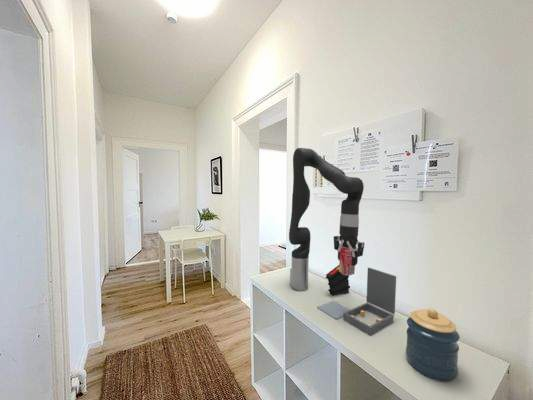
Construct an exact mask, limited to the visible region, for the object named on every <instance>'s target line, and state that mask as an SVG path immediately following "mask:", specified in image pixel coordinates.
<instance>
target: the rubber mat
mask: <svg viewBox="0 0 533 400" xmlns="http://www.w3.org/2000/svg"><path fill="white" fill-rule="evenodd" d="M316 308H317V309H318V310H320V311H321V312H323V313H325V315H328V316H330V317H331V318H333V319H334V320H336V321H337V320H339V319H342V318H343V313H344V312H346V311H349V310H351V309H350V308H348V307H346V306H344V305H342V304H341V303H339V302H336V301H335V300H332V301H329V302H326V303H324V304H321V305H318V306H316Z"/></svg>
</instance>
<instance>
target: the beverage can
mask: <svg viewBox="0 0 533 400" xmlns="http://www.w3.org/2000/svg"><path fill="white" fill-rule="evenodd" d="M353 249H354V248H353ZM354 252H355V251H354ZM352 257H353V256H352V252H351V251H350V249H349V248H346V247H344V246H342V247H341V249H340V261H339V264H338V265H339V272H340V273H342V274H343V275H347V276H349V277H350V276H353V275H355V270H356V265H355V266H353V265H352Z"/></svg>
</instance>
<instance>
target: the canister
mask: <svg viewBox="0 0 533 400" xmlns="http://www.w3.org/2000/svg"><path fill="white" fill-rule="evenodd" d="M406 323H407V326H408V327H407V328H406V346H405V354H406V355H405V356H406V359H407V361H408V363H409V364H410V365H411V366H412V368H414V369H415V370H416V371H418V372H419V373H420V374H422V375H423V376H426V377H428V378H430V379H433V380H436V381H442V382H451V381H454V380H456V378H457V375H458V373H459V367H458V357H459V352H460V351H459V350H460V347H459V344H458V341H460V334H459V333H458V331H457V326H456V323H454V322H453V321H452V320H450V318H448V317H447V316H446V315H444V314H442V313H439V312H438V311H437V310H436V309H434V308H429V309H417V310H413V311H412V312H411V313H410V316H409V317H408V318H407V319H406Z"/></svg>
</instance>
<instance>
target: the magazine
mask: <svg viewBox="0 0 533 400" xmlns="http://www.w3.org/2000/svg"><path fill="white" fill-rule="evenodd" d="M349 278H350V276H347V275H343V274H342V273H340V272H339V264H337V266H335V267H334V268H332V269H331V270H330V271H329V272H328V273H326V274H325V279H326V280H327V285H328V287H329V289H328V290H327V292H328V293H329V295H330V296H332V297H336V296H340V295H344V294H348V293H349V292H350V289H351V286H350V282H349Z"/></svg>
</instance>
